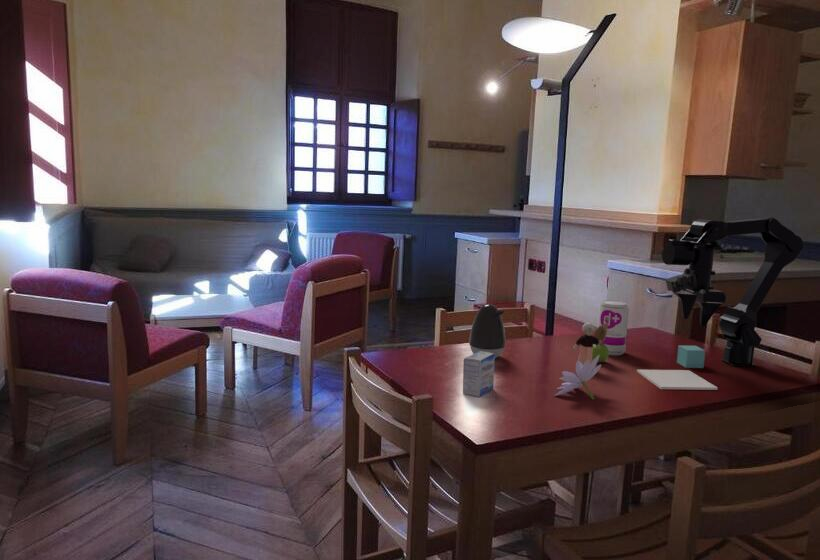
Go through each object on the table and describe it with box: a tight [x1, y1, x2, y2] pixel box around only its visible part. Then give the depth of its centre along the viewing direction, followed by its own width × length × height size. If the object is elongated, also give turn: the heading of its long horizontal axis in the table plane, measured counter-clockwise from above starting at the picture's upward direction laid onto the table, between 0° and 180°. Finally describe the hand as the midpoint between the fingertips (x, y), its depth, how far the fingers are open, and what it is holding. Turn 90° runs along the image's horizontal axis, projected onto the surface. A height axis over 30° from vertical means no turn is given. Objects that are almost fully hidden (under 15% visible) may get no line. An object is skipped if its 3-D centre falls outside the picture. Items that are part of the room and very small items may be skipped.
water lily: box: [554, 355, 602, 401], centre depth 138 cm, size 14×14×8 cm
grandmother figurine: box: [572, 321, 601, 365], centre depth 159 cm, size 8×4×13 cm, turn 112°
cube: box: [676, 345, 706, 369], centre depth 166 cm, size 5×5×5 cm
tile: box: [636, 369, 719, 391], centre depth 152 cm, size 14×14×1 cm
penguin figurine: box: [468, 303, 507, 359], centre depth 168 cm, size 10×10×15 cm
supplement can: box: [597, 299, 630, 357], centre depth 176 cm, size 8×8×15 cm
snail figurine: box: [592, 318, 610, 363], centre depth 166 cm, size 5×6×12 cm
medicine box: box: [462, 351, 496, 398], centre depth 139 cm, size 8×4×9 cm, turn 148°
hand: (693, 322), depth 164 cm, fingers open, 9 cm apart
